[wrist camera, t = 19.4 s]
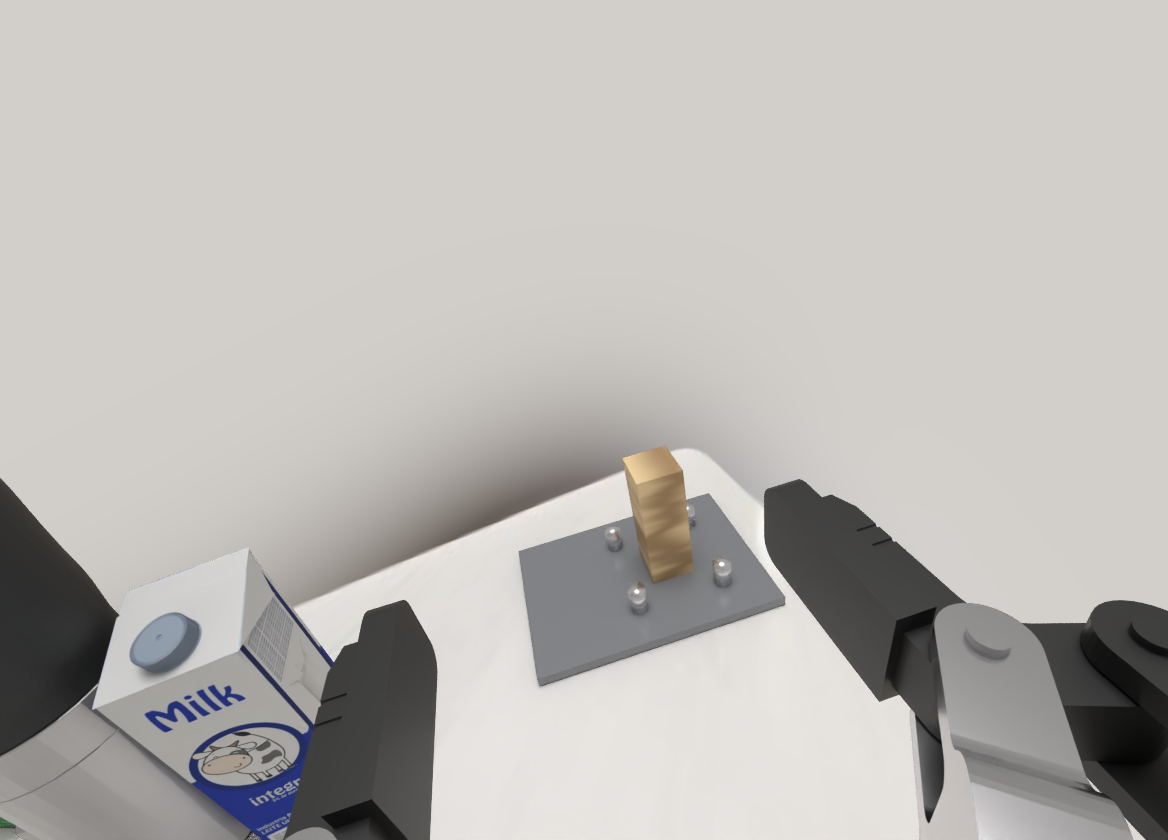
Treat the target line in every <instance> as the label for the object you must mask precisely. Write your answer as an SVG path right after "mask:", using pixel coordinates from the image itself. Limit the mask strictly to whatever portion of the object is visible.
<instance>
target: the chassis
mask: <svg viewBox="0 0 1168 840" xmlns="http://www.w3.org/2000/svg"><path fill="white" fill-rule="evenodd" d="M686 504H687V513H688V522H689V531H690V541H691V550H692V559H693V568H694V571H693V572H690V573H686V574H683V575H680V576H677V577H674V578H671V579H668V580H665V581H662V582H658V583H655V584H654V583H653V581H652V579H651V577H650V574H649V572H648V570H647V568H646V565H645V563H644V561H643V559H642V557H641V554H640V549H639V544H638V539H637V533H636V528H635V522H634V517H629V518H626V519H623V520H620V521H616V522H613V523H610V524H606V525H603V526H600V527H597V528H593V529H590V530H587V531H584V532H580V533H577V534H574V535H570V536H567V537H564V538H561V539H557V540H554V541H551V542H548V543H544V544H541V545H538V546H535V547H531V548H528V549H525V550H521V551H519V557H520V564H521V571H522V577H523V584H524V591H525V598H526V605H527V612H528V619H529V625H530V632H531V639H532V646H533V653H534V660H535V666H536V673H537V680H538V682H539V684H540V686H542V685H545V684H548V683H551V682H554V681H557V680H560V679H563V678H566V677H569V676H572V675H575V674H578V673H581V672H584V671H587V670H590V669H593V668H596V667H599V666H602V665H605V664H608V663H611V662H614V661H617V660H620V659H623V658H626V657H629V656H632V655H635V654H638V653H641V652H644V651H647V650H650V649H653V648H656V647H659V646H662V645H665V644H668V643H671V642H674V641H677V640H680V639H683V638H686V637H689V636H692V635H695V634H698V633H701V632H704V631H707V630H710V629H713V628H716V627H719V626H722V625H725V624H728V623H731V622H734V621H737V620H740V619H743V618H746V617H749V616H752V615H755V614H758V613H761V612H764V611H767V610H770V609H773V608H776V607H779V606H782V605H785V596H784V595H783V593H782V592H781V591H780V589H779V588H778V587H777V585H776V584H775V583H774V581H773V580H772V578H771V577H770V576H769V574H768V573H767V572H766V570H765V569H764V568H763V566H762V565H761V563H760V562H759V561H758V559H757V558H756V557H755V555H754V554H753V553H752V551H751V550H750V549H749V547H748V546H747V544H746V543H745V542H744V540H743V539H742V538H741V536H740V535H739V534H738V532H737V531H736V529H735V528H734V527H733V525H732V524H731V523H730V521H729V520H728V519H727V517H726V516H725V514H724V513H723V512H722V510H721V509H720V508H719V506H718V505H717V504H716V502H715V501H714V500H713V498H712V497H711V495H710V494H709V493H708V494H705V495H701V496H698V497H695V498H691V499H688V500H686Z"/></svg>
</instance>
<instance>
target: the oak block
mask: <svg viewBox="0 0 1168 840" xmlns="http://www.w3.org/2000/svg"><path fill="white" fill-rule="evenodd" d="M623 463H624V468H625V474H626V479H627V485H628V490H629V495H630V501H631V506H632V512H633V517H634V522H635V528H636V533H637V539H638V544H639V549H640V554H641V557H642V559H643V561H644V563H645V565H646V568H647V570H648V572H649V574H650V577H651V579H652V581H653V583H654V584H655V583H658V582H662V581H665V580H668V579H671V578H674V577H677V576H680V575H683V574H686V573H690V572H693V571H694V568H693V559H692V550H691V541H690V531H689V522H688V513H687V504H686V495H685V486H684V477H683V470H682V469H681V467H680V466H679V464H678V463H677V462H676V460H675V459H674V457H673V456H672V455H671V453H670V452H669V450H668V449H667V447H666V446H663V447H659V448H656V449H652V450H649V451H646V452H642V453H639V454H636V455H632V456H629V457H625V458H623Z"/></svg>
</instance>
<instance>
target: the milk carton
mask: <svg viewBox="0 0 1168 840" xmlns="http://www.w3.org/2000/svg"><path fill="white" fill-rule="evenodd" d="M333 663H334V662H333V661H332V659H331V658H330V657H329V656H328V654H327V653H326V652H325V650H324V649H323V648H322V646H321V645H320V644H319V642H318V641H317V640H316V638H315V637H314V636H313V634H312V633H311V632H310V630H309V629H308V628H307V626H306V625H305V624H304V622H303V621H302V620H301V618H300V617H299V616H298V614H297V613H296V612H295V611H294V609H293V608H292V607H291V605H290V604H289V603H288V601H287V600H286V599H285V597H284V596H283V595H282V593H281V592H280V591H279V589H278V588H277V587H276V586H275V584H274V583H273V581H272V580H271V579H270V577H269V576H268V575H267V574H266V572H265V571H264V570H263V568H262V567H261V565H260V564H259V563H258V562H257V560H256V559H255V558H254V556H253V555H252V552H251V551H250V549H249V548H246V549H243V550H240V551H237V552H234V553H232V554H229V555H226V556H223V557H221V558H218V559H215V560H212V561H210V562H207V563H204V564H201V565H199V566H196V567H193V568H190V569H188V570H185V571H182V572H179V573H176V574H174V575H171V576H168V577H165V578H162V579H160V580H157V581H154V582H151V583H149V584H146V585H143V586H140V587H138V588H135V589H132V590H129V591H128V593H127V595H126V598H125V601H124V604H123V607H122V609H121V612H120V615H119V617H117V618H116V622H115V625H114V629H113V633H112V636H111V640H110V644H109V648H108V651H107V655H106V659H105V662H104V666H103V670H102V673H101V677H100V681H99V684H98V688H97V692H96V696H95V699H94V703H93V707H92V710H93V709H97V710H98V711H100V712H101V713H102V714H103V715H105V716H106V717H107V718H108V719H110V720H111V721H112V722H114V723H115V724H116V725H117V726H119V727H120V728H121V729H122V730H124V731H125V732H126V733H128V734H129V735H130V736H131V737H133V738H134V739H135V740H136V741H138V742H139V743H140V744H142V745H143V746H144V747H145V748H147V749H148V750H149V751H150V752H152V753H153V754H154V755H156V756H157V757H158V758H159V759H161V760H162V761H163V762H164V763H166V764H167V765H168V766H170V767H171V768H172V769H173V770H175V771H176V772H177V773H178V774H180V775H181V776H182V777H183V778H185V779H186V780H187V781H189V782H190V783H191V784H192V785H194V786H195V787H196V788H197V789H199V790H200V791H201V792H203V793H204V794H205V795H206V796H208V797H209V798H210V799H211V800H213V801H214V802H215V803H217V804H218V805H219V806H220V807H222V808H223V809H224V810H225V811H227V812H228V813H229V814H231V815H232V816H233V817H234V818H236V819H237V820H238V821H239V822H241V823H242V824H243V825H245V826H246V827H247V828H248V829H250V830H251V831H252V832H253V833H255V834H256V835H257V836H259V837H260V838H261V839H262V840H283V838H284V835H285V833H286V830H287V827H288V823H289V820H290V816H291V812H292V808H293V804H294V800H295V796H296V793H297V789H298V785H299V781H300V777H301V773H302V769H303V765H304V762H305V758H306V754H307V750H308V746H309V742H310V738H311V735H312V731H314V730H315V726H314V723H315V719H316V715H317V711H318V707H320V706H321V702H320V700H321V696H322V692H323V688H324V684H325V680H326V677H327V673H328V671H329V670H330V668H331V667H332V665H333Z"/></svg>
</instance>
